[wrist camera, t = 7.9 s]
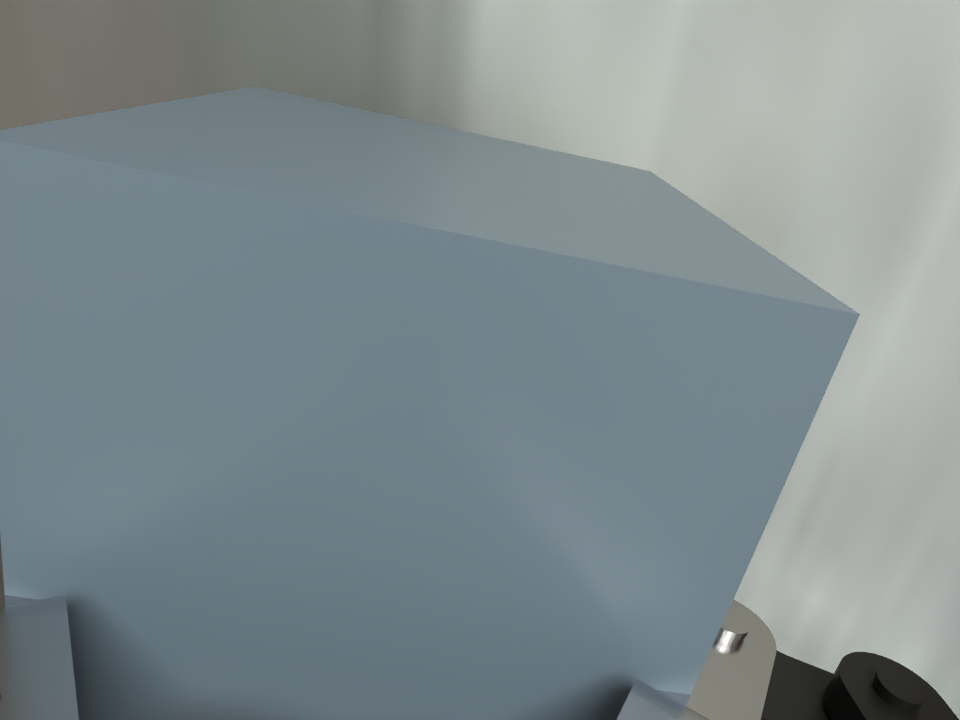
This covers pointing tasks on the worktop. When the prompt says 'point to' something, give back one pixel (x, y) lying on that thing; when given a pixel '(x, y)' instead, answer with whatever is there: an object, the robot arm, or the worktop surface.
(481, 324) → the light blue cuboid
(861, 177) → the worktop surface
